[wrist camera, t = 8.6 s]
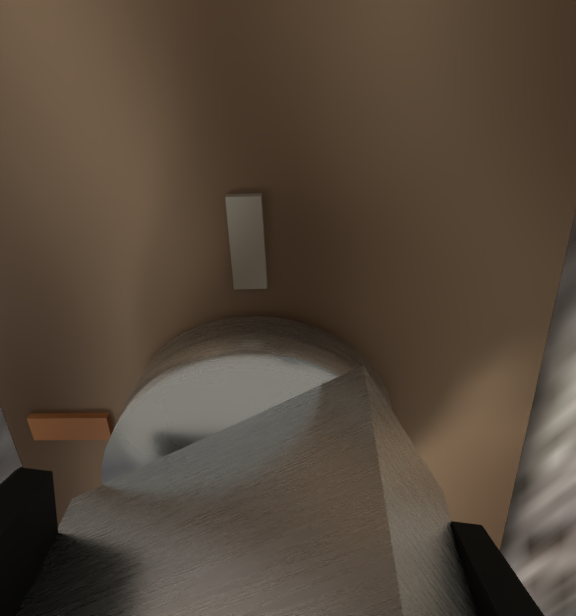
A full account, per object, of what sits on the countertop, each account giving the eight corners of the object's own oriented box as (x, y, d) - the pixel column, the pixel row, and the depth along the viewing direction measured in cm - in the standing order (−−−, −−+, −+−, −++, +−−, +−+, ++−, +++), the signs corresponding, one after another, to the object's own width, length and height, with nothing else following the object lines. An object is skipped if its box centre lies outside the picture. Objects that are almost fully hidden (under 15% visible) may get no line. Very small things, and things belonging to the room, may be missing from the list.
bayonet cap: (447, 464, 13) (569, 852, 7) (217, 552, 15) (155, 920, 9) (322, 259, 11) (342, 584, 5) (64, 395, 13) (-167, 756, 7)
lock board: (105, 608, 20) (88, 657, 18) (-105, -36, 10) (-176, -45, 9) (464, 611, 19) (477, 662, 18) (595, -71, 10) (648, -87, 8)
